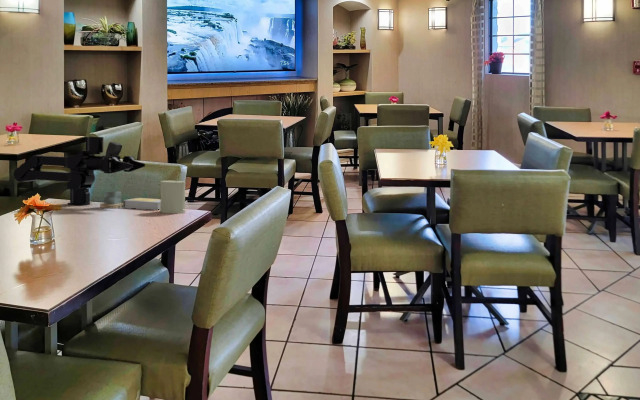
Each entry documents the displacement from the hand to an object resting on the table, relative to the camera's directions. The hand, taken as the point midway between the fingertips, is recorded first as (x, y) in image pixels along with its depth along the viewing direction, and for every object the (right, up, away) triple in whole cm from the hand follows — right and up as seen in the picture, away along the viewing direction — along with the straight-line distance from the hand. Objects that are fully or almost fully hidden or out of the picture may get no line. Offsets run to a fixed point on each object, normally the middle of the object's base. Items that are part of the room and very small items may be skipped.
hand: (139, 165), depth 227 cm
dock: (+2, -16, +5) cm, 17 cm away
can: (+14, -18, -4) cm, 23 cm away
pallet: (-11, -16, +3) cm, 20 cm away
